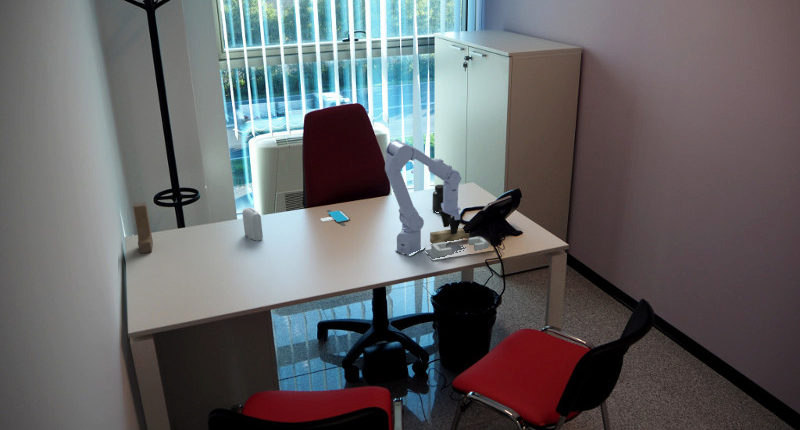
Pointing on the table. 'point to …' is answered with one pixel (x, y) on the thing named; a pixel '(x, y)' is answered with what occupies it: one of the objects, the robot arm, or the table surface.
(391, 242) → the table surface
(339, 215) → the phone stand
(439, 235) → the slat
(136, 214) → the wooden block
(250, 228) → the photo printer
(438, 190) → the supplement bottle
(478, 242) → the cradle
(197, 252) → the table surface
